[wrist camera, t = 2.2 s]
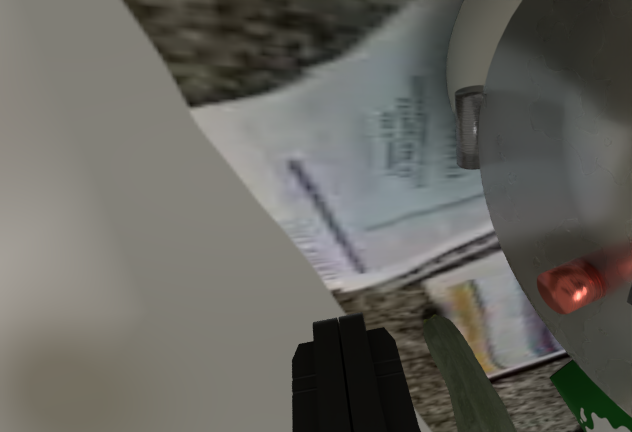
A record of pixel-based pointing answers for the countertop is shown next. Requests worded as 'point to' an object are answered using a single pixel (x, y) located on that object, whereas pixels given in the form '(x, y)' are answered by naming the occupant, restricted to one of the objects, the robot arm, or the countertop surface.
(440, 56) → the countertop surface
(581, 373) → the milk carton
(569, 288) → the cooker lid
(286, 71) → the countertop surface
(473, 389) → the vegetable
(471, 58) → the cooker pot
